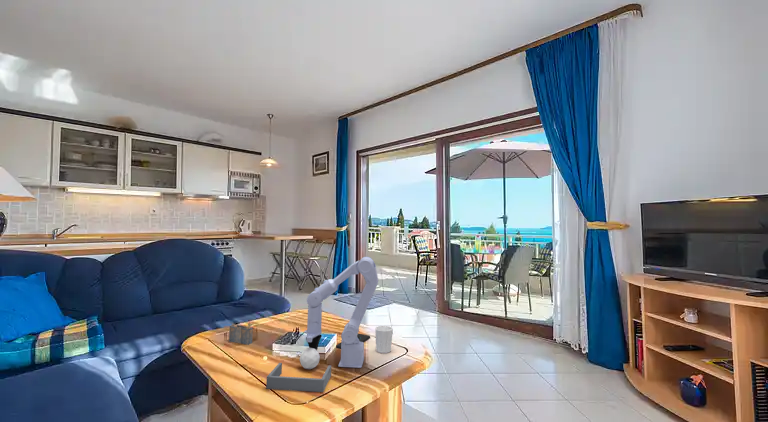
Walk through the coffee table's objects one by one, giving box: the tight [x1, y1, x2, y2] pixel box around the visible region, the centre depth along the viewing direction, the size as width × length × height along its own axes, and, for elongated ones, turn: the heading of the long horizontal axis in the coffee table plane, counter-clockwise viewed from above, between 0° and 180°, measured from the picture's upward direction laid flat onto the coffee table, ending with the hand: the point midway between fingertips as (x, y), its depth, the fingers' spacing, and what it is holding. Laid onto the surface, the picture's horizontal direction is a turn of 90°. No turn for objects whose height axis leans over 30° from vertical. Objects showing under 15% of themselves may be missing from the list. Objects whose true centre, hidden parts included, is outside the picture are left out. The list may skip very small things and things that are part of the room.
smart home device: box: [335, 332, 371, 350], centre depth 162 cm, size 8×2×20 cm
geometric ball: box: [299, 347, 321, 370], centre depth 133 cm, size 8×8×8 cm
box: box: [265, 362, 332, 393], centre depth 121 cm, size 20×12×4 cm, turn 86°
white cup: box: [374, 325, 394, 354], centre depth 153 cm, size 8×8×10 cm
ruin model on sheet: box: [228, 321, 254, 346], centre depth 159 cm, size 11×3×10 cm, turn 70°
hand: (313, 353), depth 138 cm, fingers closed
